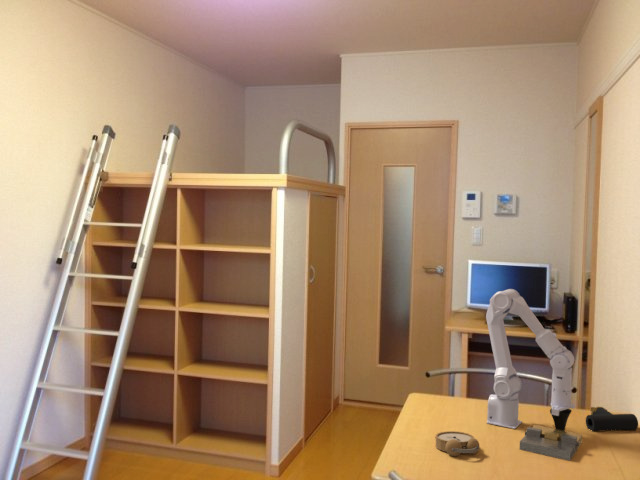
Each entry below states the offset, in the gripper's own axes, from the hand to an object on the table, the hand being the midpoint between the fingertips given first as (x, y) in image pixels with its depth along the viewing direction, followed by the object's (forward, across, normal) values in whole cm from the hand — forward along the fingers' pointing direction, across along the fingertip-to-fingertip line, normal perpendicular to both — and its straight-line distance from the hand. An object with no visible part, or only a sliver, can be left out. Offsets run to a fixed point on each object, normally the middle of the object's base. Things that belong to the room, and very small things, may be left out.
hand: (559, 432), depth 192 cm
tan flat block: (+1, -8, 0) cm, 8 cm away
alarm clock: (+2, -31, +21) cm, 37 cm away
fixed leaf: (+1, -15, 0) cm, 15 cm away
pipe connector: (+2, +19, -10) cm, 21 cm away
